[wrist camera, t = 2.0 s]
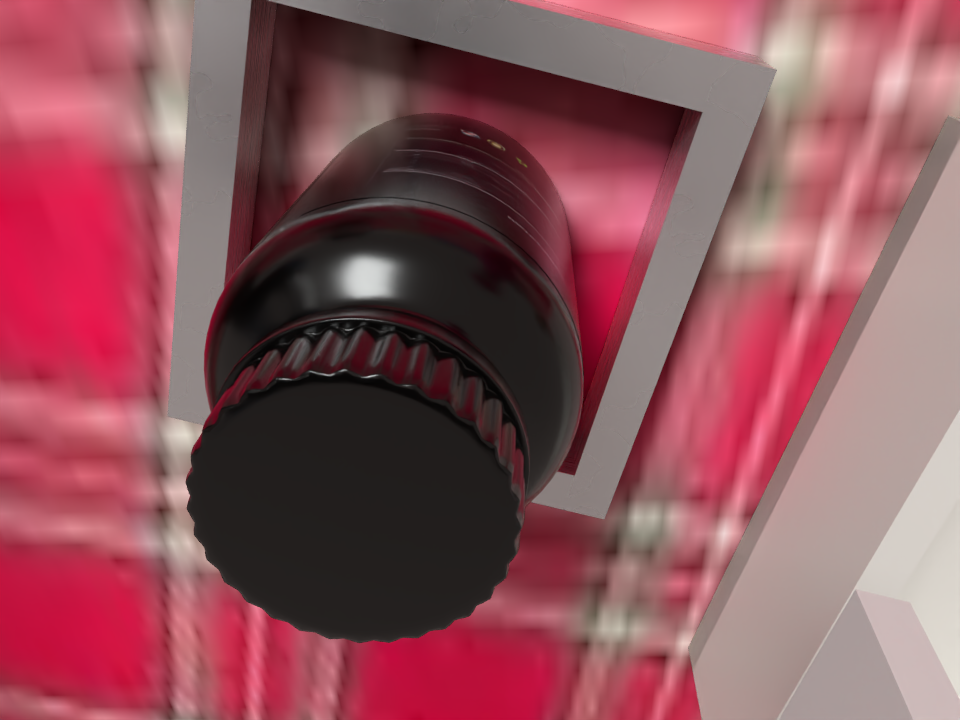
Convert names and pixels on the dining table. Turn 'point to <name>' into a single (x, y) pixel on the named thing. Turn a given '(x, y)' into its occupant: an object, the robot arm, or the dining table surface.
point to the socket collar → (523, 41)
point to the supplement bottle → (390, 384)
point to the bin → (857, 476)
